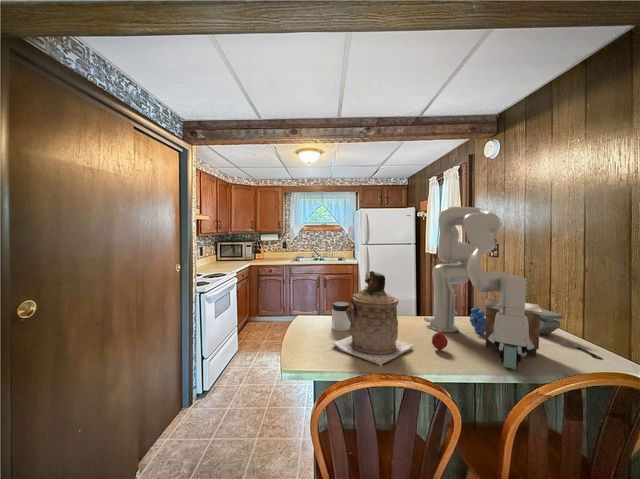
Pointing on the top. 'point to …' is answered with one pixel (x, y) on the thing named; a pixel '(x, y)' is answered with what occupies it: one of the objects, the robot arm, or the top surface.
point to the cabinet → (530, 312)
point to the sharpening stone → (549, 321)
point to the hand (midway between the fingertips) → (509, 361)
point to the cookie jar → (373, 324)
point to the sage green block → (510, 356)
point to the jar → (340, 316)
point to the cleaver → (570, 345)
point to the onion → (439, 340)
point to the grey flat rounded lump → (524, 355)
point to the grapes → (478, 320)
